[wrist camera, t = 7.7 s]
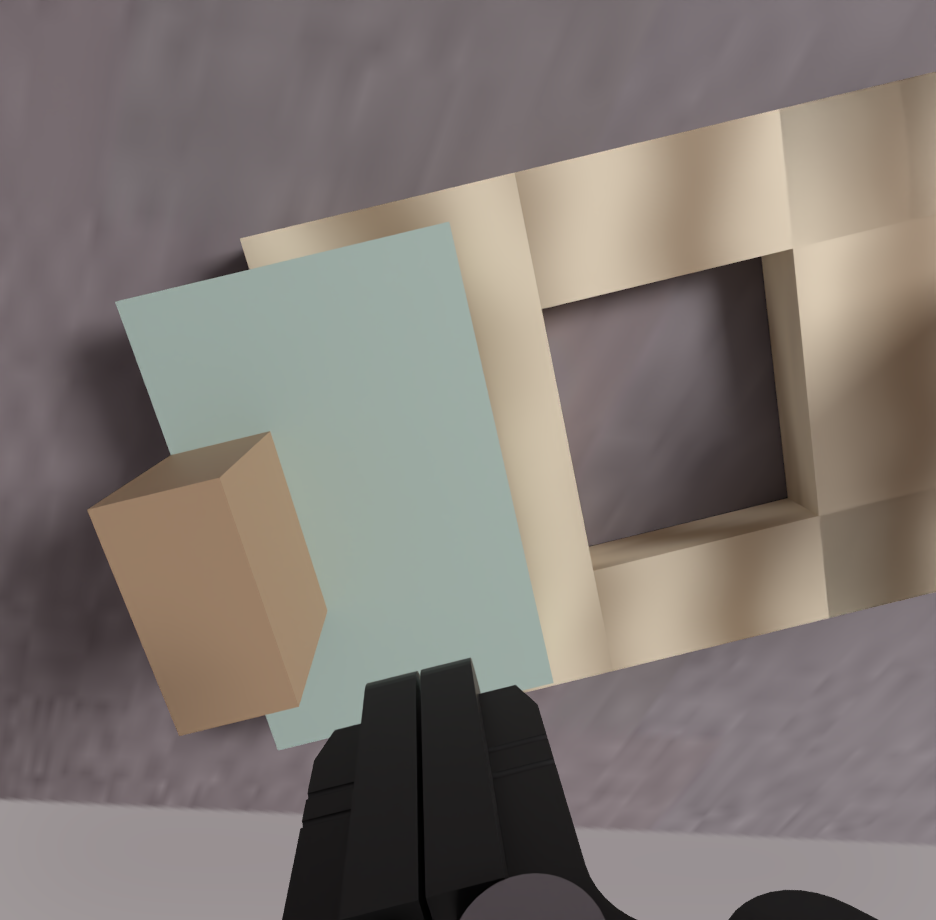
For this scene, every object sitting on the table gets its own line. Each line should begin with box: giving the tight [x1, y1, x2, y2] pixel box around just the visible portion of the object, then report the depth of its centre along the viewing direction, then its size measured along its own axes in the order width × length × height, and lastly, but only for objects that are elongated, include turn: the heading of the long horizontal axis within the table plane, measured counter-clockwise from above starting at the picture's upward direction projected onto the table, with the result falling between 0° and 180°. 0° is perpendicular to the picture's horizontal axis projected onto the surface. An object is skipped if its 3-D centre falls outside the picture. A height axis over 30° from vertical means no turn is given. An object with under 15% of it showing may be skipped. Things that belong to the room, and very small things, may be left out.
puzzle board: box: [240, 72, 936, 693], centre depth 22 cm, size 32×17×2 cm, turn 103°
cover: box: [87, 222, 554, 750], centre depth 18 cm, size 10×15×6 cm, turn 13°
